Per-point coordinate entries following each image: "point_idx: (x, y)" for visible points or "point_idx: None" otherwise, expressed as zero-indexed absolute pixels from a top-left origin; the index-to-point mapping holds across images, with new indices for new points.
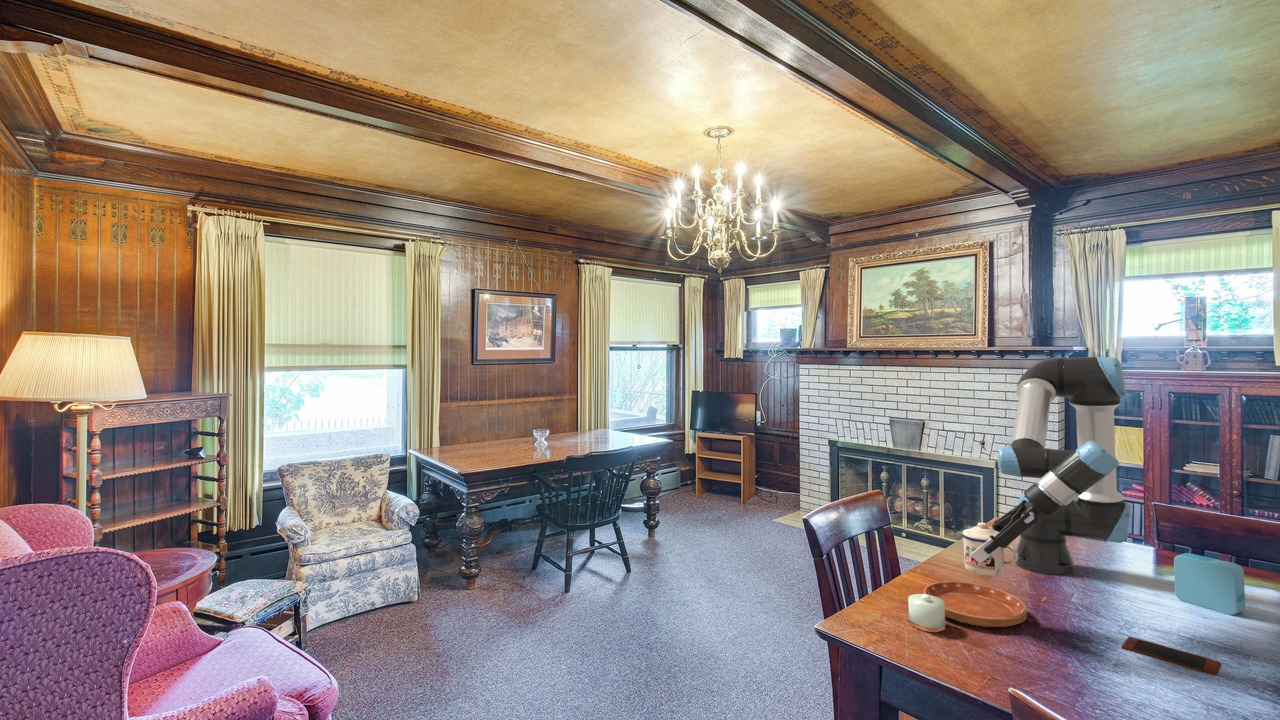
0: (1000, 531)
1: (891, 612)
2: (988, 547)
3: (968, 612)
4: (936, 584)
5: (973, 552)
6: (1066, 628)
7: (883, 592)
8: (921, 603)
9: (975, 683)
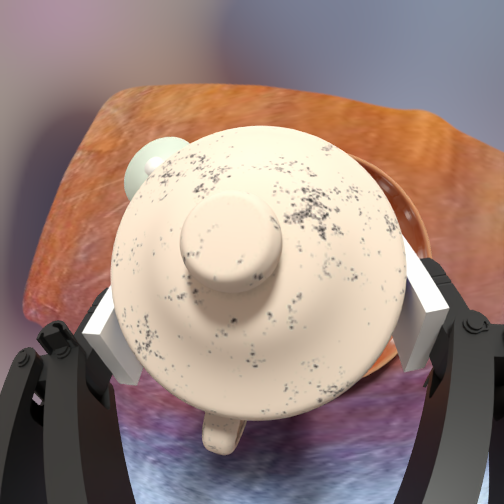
0: (67, 408)
1: (209, 128)
2: (92, 312)
3: None
4: (366, 167)
5: None
6: (321, 446)
7: (305, 94)
8: (138, 168)
9: (40, 294)
